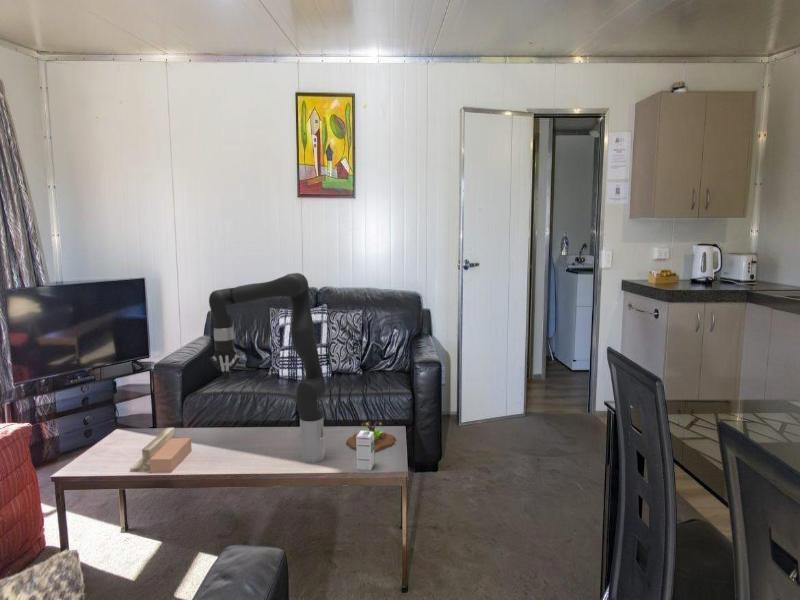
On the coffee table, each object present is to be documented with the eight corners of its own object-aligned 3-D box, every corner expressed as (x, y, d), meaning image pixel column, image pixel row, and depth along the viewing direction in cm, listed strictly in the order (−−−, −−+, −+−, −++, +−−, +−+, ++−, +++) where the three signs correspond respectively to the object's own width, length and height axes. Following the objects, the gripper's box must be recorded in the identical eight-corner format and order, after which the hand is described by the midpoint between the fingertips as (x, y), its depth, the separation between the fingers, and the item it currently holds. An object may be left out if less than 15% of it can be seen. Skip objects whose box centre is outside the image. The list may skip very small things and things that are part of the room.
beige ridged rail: (175, 448, 217) (174, 427, 216) (151, 472, 195) (149, 449, 194) (156, 448, 217) (155, 427, 216) (130, 472, 195) (128, 449, 194)
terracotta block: (191, 451, 214) (190, 438, 213) (171, 474, 194) (170, 459, 193) (172, 451, 214) (171, 438, 213) (150, 474, 194) (149, 459, 193)
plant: (338, 447, 218) (337, 422, 217) (365, 432, 235) (365, 409, 233) (376, 458, 208) (376, 432, 206) (402, 442, 224) (402, 417, 222)
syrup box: (371, 473, 194) (371, 436, 192) (356, 471, 195) (356, 435, 194) (375, 466, 200) (374, 431, 198) (360, 465, 201) (360, 429, 199)
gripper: (242, 336, 212) (245, 376, 214) (210, 337, 211) (213, 377, 213) (238, 339, 204) (240, 381, 206) (204, 340, 204) (207, 382, 206)
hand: (226, 379), depth 210 cm, fingers closed
